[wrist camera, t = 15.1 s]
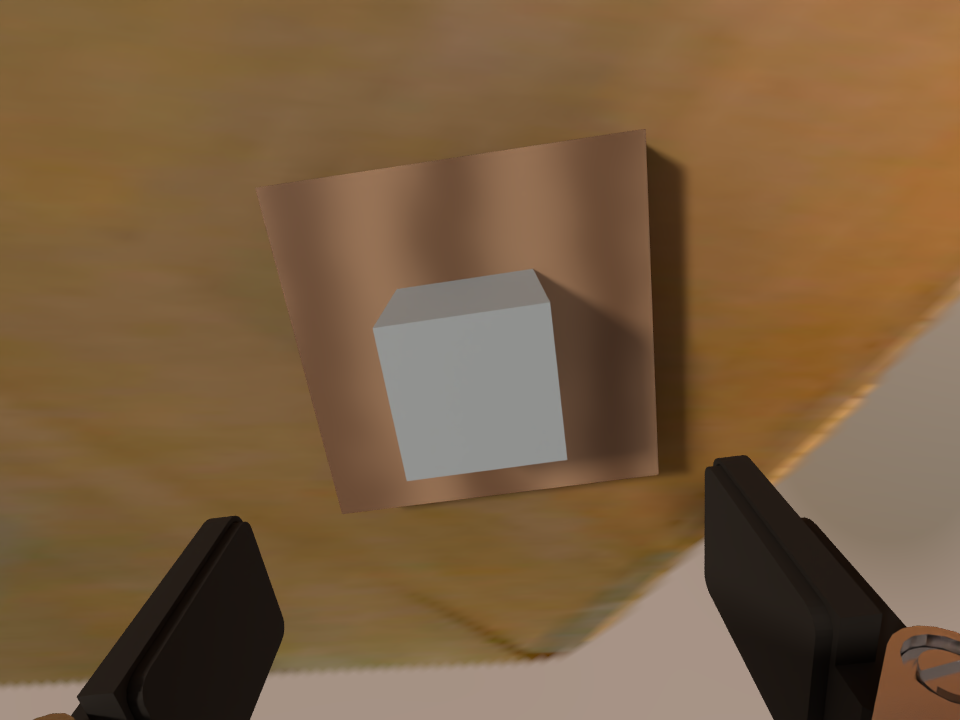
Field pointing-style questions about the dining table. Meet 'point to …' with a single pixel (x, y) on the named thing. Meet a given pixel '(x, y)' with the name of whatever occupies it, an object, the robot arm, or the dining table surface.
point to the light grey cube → (472, 375)
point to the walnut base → (468, 254)
